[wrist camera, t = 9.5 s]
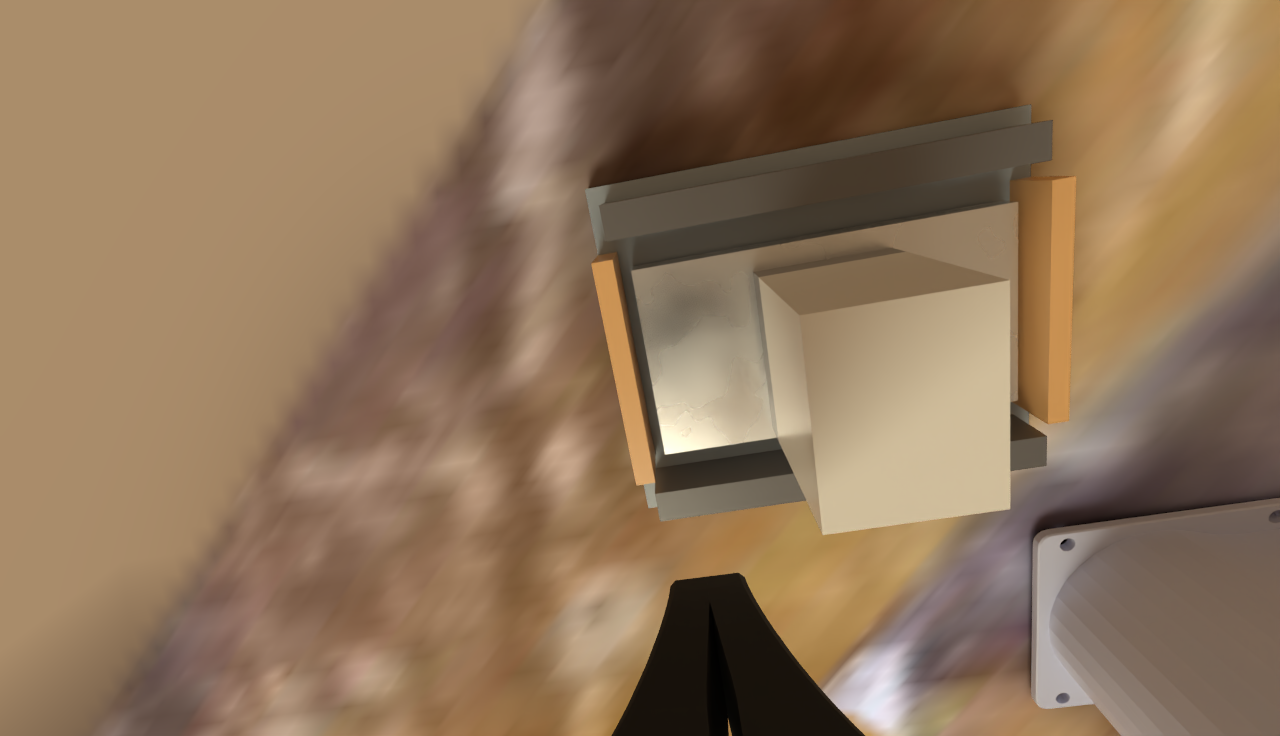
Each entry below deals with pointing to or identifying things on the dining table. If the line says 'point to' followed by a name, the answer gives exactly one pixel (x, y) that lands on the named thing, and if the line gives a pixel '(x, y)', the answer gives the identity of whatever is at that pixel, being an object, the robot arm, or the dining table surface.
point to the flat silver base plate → (729, 323)
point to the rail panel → (819, 202)
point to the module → (889, 386)
